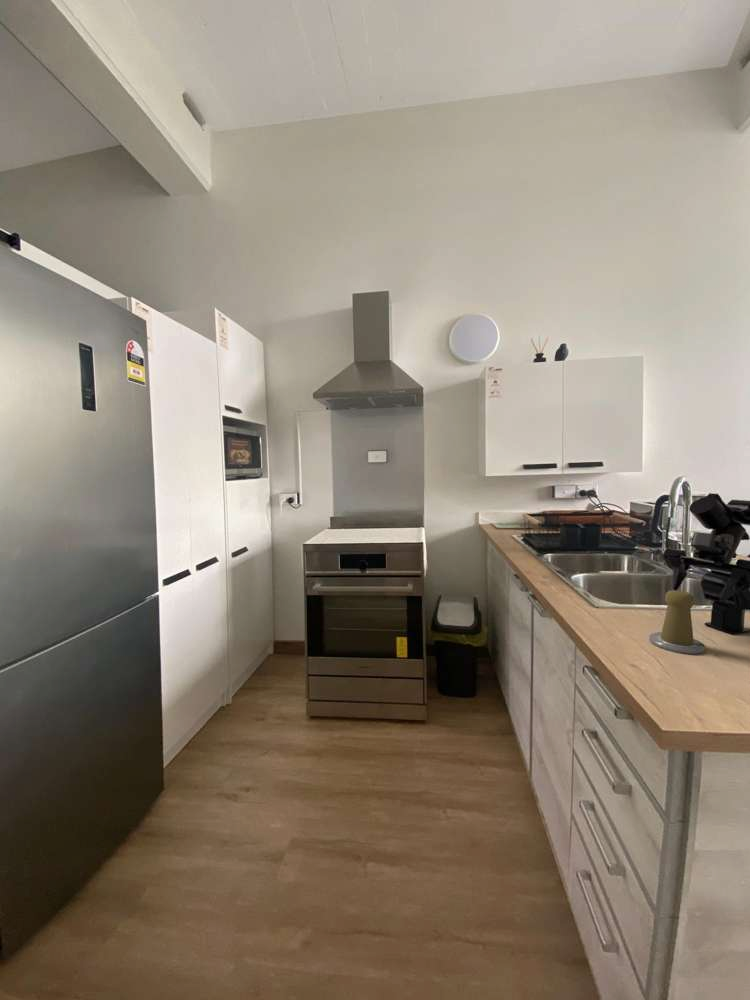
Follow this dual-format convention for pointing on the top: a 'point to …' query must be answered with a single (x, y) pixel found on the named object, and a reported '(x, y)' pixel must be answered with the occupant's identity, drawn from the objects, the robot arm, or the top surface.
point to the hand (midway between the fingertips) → (696, 594)
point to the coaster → (694, 649)
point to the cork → (678, 618)
